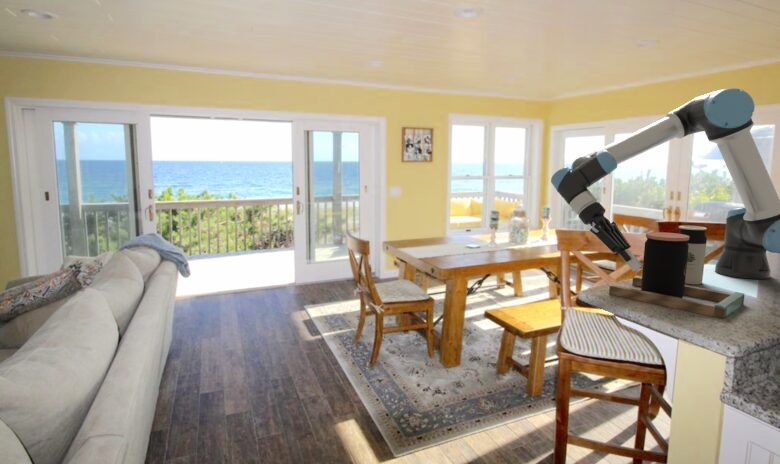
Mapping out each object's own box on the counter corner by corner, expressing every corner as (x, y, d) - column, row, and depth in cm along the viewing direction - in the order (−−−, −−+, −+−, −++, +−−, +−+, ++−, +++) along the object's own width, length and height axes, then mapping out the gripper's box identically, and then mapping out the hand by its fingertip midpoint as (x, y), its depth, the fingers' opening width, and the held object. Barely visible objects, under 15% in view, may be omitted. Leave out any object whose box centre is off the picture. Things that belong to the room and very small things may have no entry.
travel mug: (680, 277, 151) (685, 224, 149) (706, 283, 145) (712, 227, 142) (667, 280, 147) (672, 226, 145) (694, 286, 141) (700, 229, 138)
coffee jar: (691, 302, 124) (698, 238, 121) (650, 301, 125) (656, 237, 122) (671, 291, 134) (677, 232, 132) (634, 290, 136) (639, 231, 133)
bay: (609, 294, 132) (609, 284, 132) (634, 283, 144) (635, 274, 143) (723, 318, 111) (724, 306, 110) (743, 304, 122) (744, 293, 122)
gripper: (589, 214, 150) (637, 272, 140) (568, 217, 142) (618, 279, 131) (606, 199, 145) (657, 258, 135) (586, 201, 137) (639, 264, 127)
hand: (638, 269), depth 133 cm, fingers closed
